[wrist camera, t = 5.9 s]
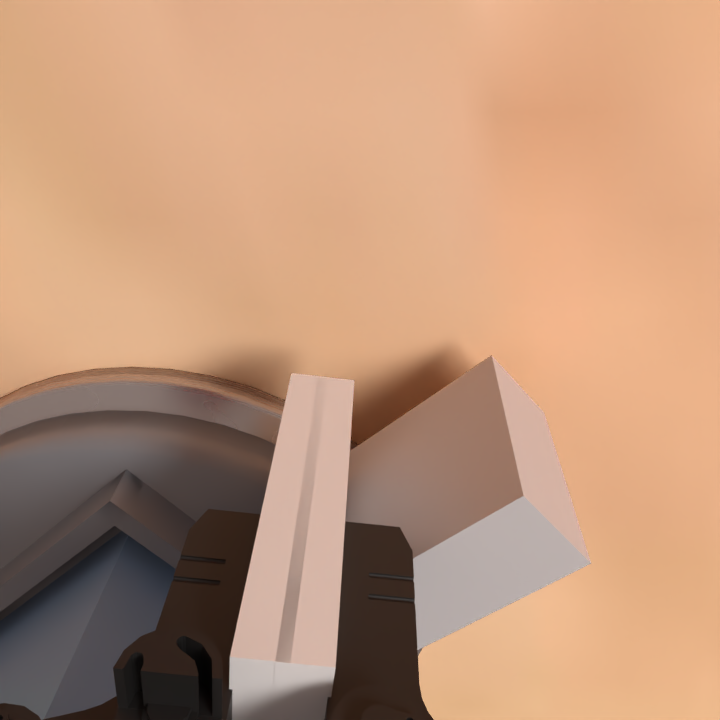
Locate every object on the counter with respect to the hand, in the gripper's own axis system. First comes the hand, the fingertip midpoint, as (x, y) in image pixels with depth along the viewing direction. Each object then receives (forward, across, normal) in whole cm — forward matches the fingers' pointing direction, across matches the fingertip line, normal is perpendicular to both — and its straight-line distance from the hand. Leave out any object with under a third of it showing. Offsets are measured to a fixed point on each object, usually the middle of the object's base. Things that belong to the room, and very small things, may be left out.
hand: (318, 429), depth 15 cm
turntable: (+1, -2, -6) cm, 6 cm away
